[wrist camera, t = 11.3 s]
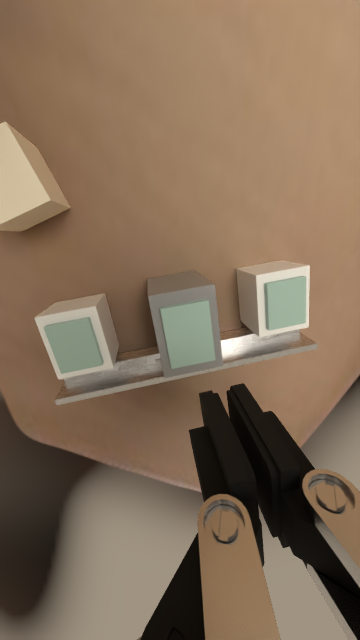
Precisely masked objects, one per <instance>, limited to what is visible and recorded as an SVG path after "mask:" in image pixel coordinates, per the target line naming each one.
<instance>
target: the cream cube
mask: <svg viewBox="0 0 360 640" xmlns="http://www.w3.org/2000/svg"><path fill="white" fill-rule="evenodd" d="M70 208H71V207H70V206H69V204H68V202H67V200H66V198H65V197H64V195H63V193H62V191H61V189H60V188H59V186H58V184H57V182H56V181H55V179H54V177H53V175H52V173H51V172H50V170H49V168H48V166H47V164H46V163H45V161H44V159H43V157H42V155H41V154H40V152H39V150H38V148H37V147H36V146H34V145H33V144H32V143H31V142H30V141H28V140H27V139H26V138H25V137H24V136H22V135H21V134H20V133H19V132H18V131H16V130H15V129H14V128H13V127H12V126H10V125H9V124H8V123H7V122H3V123H1V124H0V231H20V232H22V231H24V230H26V229H28V228H30V227H32V226H34V225H36V224H38V223H41V222H43V221H45V220H47V219H49V218H51V217H53V216H55V215H57V214H59V213H61V212H63V211H65V210H67V209H70Z"/></svg>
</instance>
